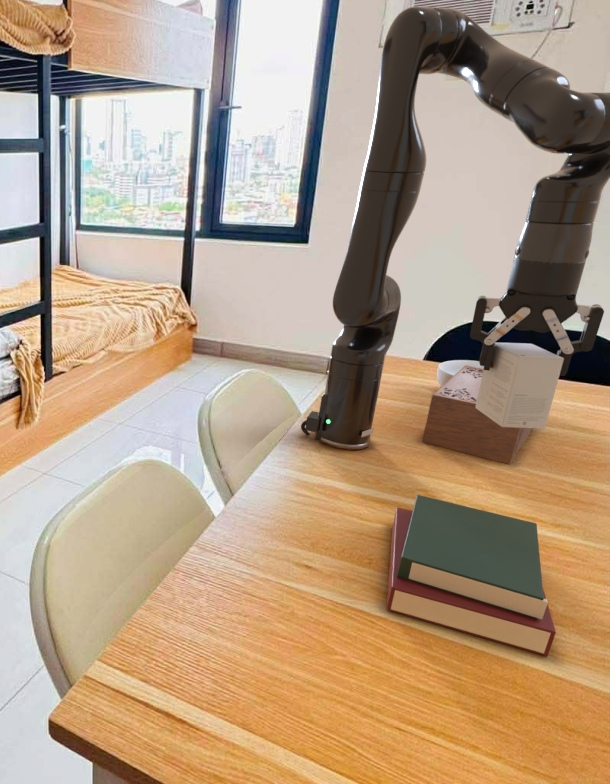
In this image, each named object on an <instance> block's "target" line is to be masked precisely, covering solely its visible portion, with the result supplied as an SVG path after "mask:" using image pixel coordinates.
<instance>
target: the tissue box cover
mask: <svg viewBox="0 0 610 784" xmlns="http://www.w3.org/2000/svg"><path fill="white" fill-rule="evenodd" d="M483 372H484V369H483V368H477V367H471V366H466V365H465V366H464V367H463V368H462V369H461V370H460V371H458V372H457V373H456V374H455V375H454V376H453V377H452V378H451V379H450V380H448V381H447V382H446V383H445V384H444V385H443V386H442V387H441V386H440V387H439V388H438V389H437V390H436V391H434V393H432V395H431V399H430V404H429V408H428V413H427V417H426V422H425V426H424V431H423V435H422V440H421V443H426V444H428V445H429V444H430V445H433V446H437V447H440V448H444V449H449V450H452V451H457V452H460V453H464V454H468V455H473V456H476V457H480V458H484V459H488V460H491V461H495V462H500V463H504V464H507V465H511V464H512V463H513V461H514V459H515V458H516V456H517V454H518V453H519V451H520V449H521V448H522V446H523V444H524V443H525V441H526V440H527V438H528V436H529V435H530V433H531V431H532V430H533V428H515V427H501V426H500V425H499V424H497V423H496V422H494V421H493V420H492V419H490V418H489V417H487V416H486V415H485V414H483V413H482V412H481V411H479V410H478V409H476V407H475V406H476V402H477V398H478V394H479V389H480V385H481V381H482V376H483Z"/></svg>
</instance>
